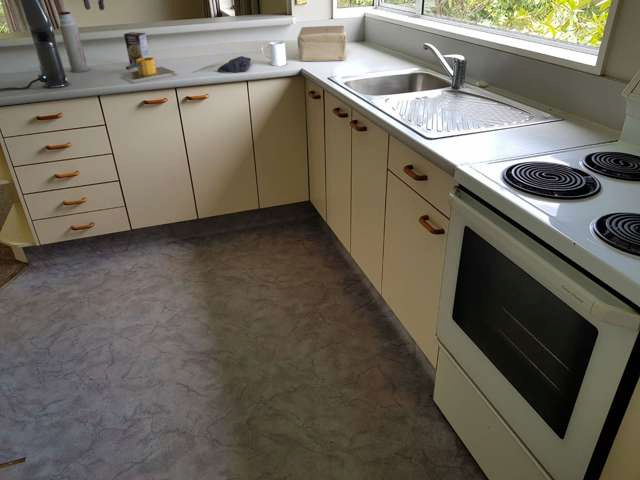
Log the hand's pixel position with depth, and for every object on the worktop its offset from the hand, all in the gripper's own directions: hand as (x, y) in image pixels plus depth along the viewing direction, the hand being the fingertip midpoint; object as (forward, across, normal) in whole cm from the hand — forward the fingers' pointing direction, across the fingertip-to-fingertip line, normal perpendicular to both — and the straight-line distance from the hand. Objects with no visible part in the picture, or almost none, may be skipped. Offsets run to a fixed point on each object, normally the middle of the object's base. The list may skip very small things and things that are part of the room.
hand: (95, 9), depth 238 cm
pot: (+29, +20, 0) cm, 35 cm away
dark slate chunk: (+30, +53, +34) cm, 70 cm away
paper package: (+30, +86, +71) cm, 115 cm away
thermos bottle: (+30, -23, +3) cm, 38 cm away
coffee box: (+30, 0, +22) cm, 38 cm away
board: (+30, +20, +4) cm, 37 cm away
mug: (+30, +68, +46) cm, 88 cm away
